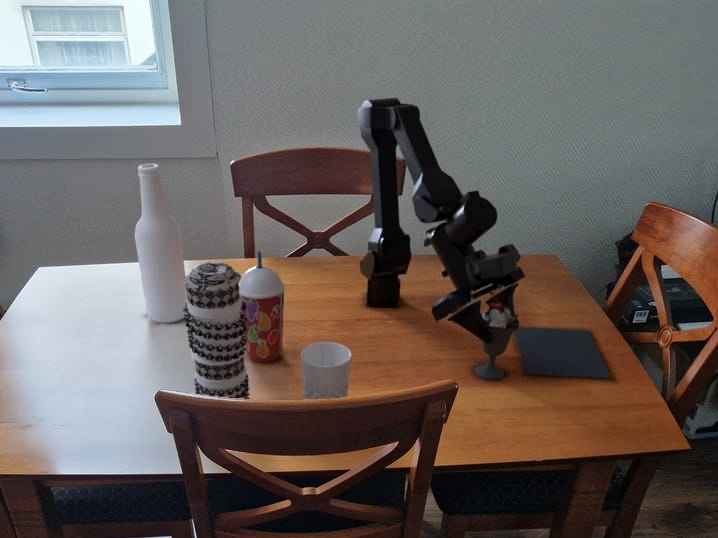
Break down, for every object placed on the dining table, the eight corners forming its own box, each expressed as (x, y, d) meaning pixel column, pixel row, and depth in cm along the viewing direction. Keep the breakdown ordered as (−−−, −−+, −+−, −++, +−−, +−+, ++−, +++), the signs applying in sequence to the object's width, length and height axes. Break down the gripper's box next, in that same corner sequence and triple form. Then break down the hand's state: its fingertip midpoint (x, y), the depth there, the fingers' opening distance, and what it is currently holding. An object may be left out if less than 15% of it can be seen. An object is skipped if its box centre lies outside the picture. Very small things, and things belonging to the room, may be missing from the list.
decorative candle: (210, 395, 111) (195, 253, 97) (261, 404, 108) (253, 260, 94) (186, 425, 104) (166, 276, 89) (239, 435, 101) (228, 284, 87)
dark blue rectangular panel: (527, 374, 114) (527, 373, 114) (513, 327, 129) (513, 327, 128) (611, 379, 112) (612, 378, 112) (587, 331, 127) (587, 330, 127)
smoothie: (292, 347, 124) (290, 245, 112) (277, 369, 117) (273, 263, 106) (251, 341, 126) (245, 241, 115) (234, 362, 120) (226, 258, 108)
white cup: (346, 423, 103) (348, 368, 97) (297, 418, 104) (296, 364, 99) (352, 396, 109) (354, 343, 104) (305, 392, 111) (305, 340, 105)
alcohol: (182, 302, 142) (164, 158, 125) (195, 318, 135) (178, 168, 118) (142, 310, 139) (118, 163, 122) (154, 327, 132) (130, 174, 115)
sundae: (464, 364, 117) (476, 286, 109) (501, 361, 118) (515, 284, 109) (476, 383, 112) (489, 303, 103) (514, 381, 112) (531, 300, 104)
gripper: (454, 245, 99) (504, 335, 98) (525, 218, 108) (571, 300, 108) (410, 279, 108) (455, 361, 107) (479, 251, 118) (521, 327, 117)
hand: (502, 336), depth 110 cm, fingers closed on sundae, 6 cm apart
